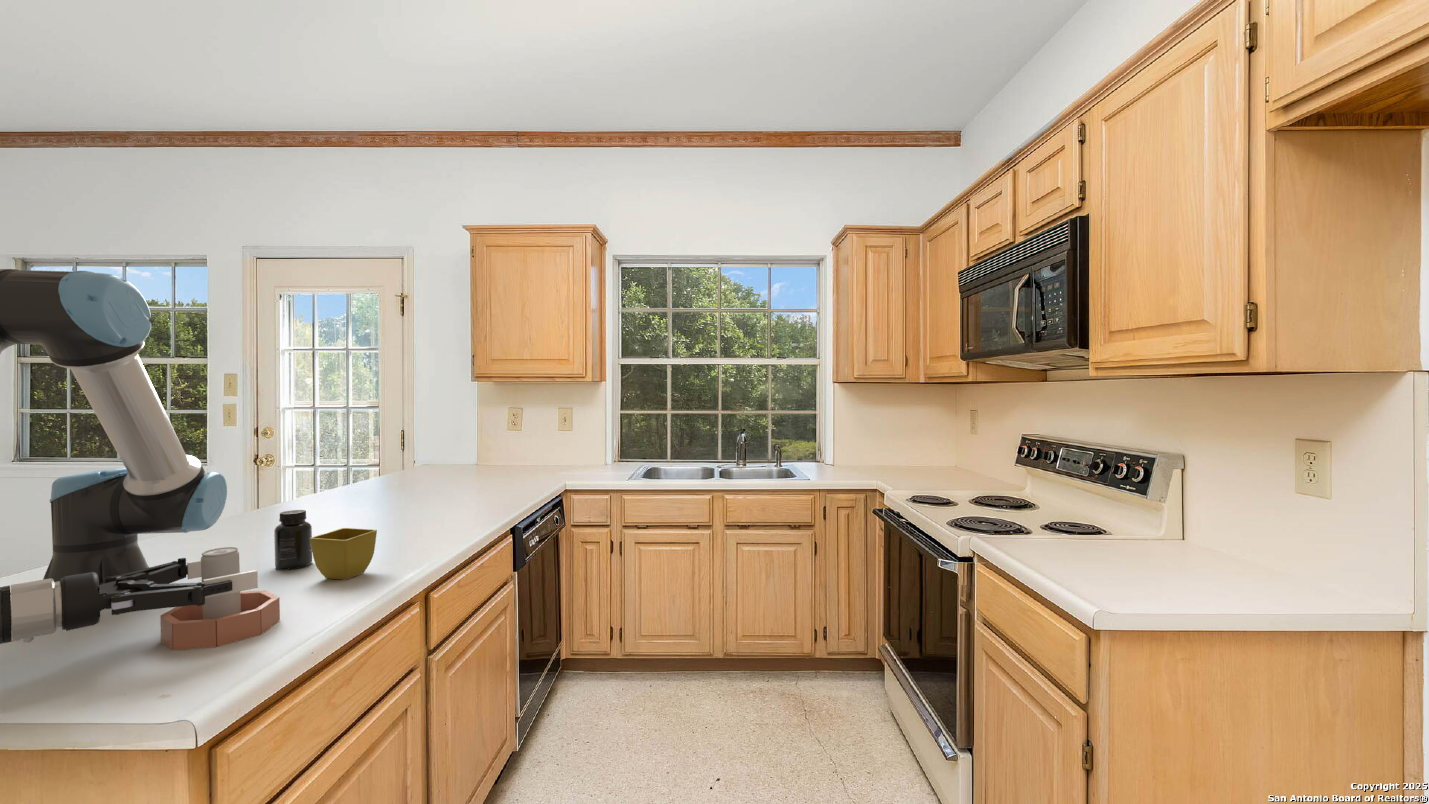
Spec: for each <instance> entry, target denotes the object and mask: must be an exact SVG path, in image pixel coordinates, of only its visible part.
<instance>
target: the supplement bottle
mask: <svg viewBox="0 0 1429 804" xmlns="http://www.w3.org/2000/svg"><path fill="white" fill-rule="evenodd" d="M278 521H279V522H280V524H278V525H277V526H276V527H275V528H274V531H273V532H274V535H273V536H274V538H273V539H274V541H273V542H274V567H275V569H278V570H281V569H282V570H286V569H288V570H295V568H296V569H301V568H305V567H307V566H310V565H312V562H313V553H312V548H311V542H310V538H312V537H313V531H312V529H313V528H312V524H311V523H309V522H308V521H307V511H306V510H305V509H294V510H293V509H291V510H286V511H281V512H280V513H279V519H278Z"/></svg>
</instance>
